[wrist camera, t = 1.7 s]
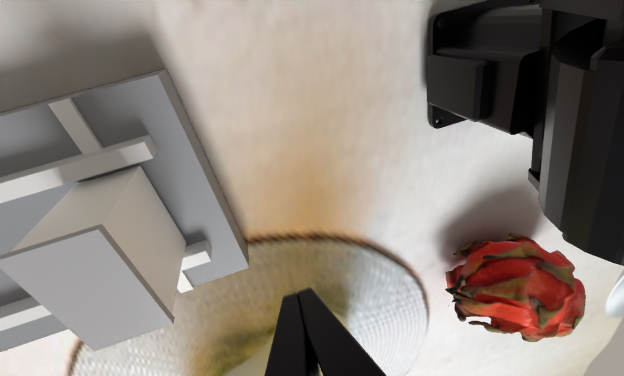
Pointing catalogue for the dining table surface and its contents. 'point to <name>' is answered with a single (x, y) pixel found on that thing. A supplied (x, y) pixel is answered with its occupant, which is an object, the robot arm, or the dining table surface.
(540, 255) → the dragon fruit
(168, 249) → the fader knob
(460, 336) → the dining table surface
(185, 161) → the fader console
